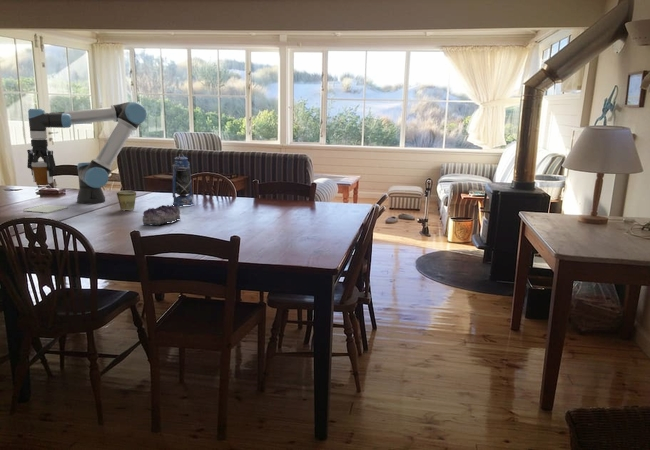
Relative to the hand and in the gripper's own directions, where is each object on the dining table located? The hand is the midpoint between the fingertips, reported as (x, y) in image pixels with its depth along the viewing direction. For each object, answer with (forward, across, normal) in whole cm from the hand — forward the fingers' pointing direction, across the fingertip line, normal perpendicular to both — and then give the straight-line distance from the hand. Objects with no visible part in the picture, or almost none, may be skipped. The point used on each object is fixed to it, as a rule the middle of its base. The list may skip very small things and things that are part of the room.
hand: (43, 182), depth 264 cm
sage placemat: (+15, 0, 0) cm, 15 cm away
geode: (+15, -73, +8) cm, 75 cm away
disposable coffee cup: (+1, 0, 0) cm, 1 cm away
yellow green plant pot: (+15, -40, -15) cm, 45 cm away
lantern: (+15, -61, -37) cm, 73 cm away
